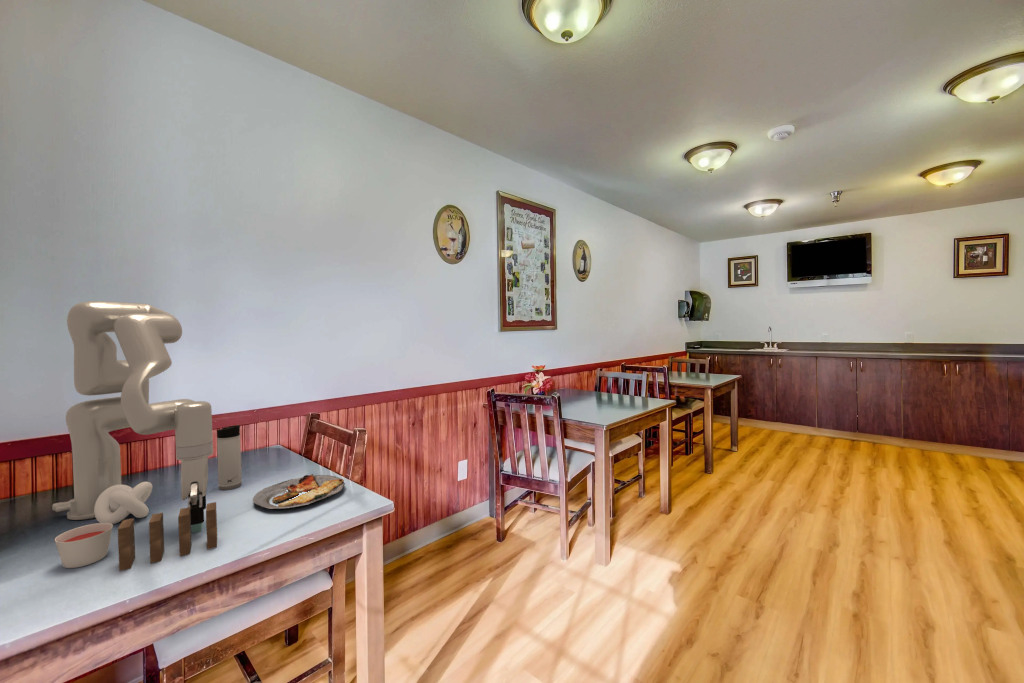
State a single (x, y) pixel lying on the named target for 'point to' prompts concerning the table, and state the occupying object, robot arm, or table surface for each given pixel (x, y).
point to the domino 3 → (184, 531)
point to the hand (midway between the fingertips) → (197, 516)
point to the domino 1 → (126, 544)
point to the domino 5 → (211, 525)
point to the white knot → (122, 502)
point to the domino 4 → (196, 526)
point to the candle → (84, 544)
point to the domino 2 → (156, 537)
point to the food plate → (299, 491)
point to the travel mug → (229, 457)
